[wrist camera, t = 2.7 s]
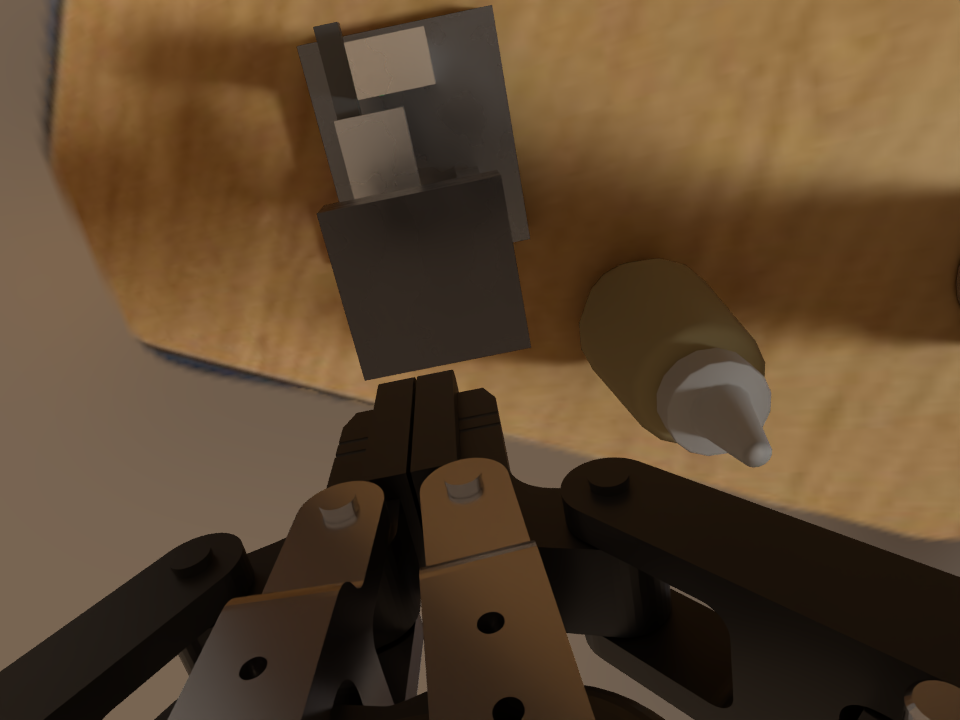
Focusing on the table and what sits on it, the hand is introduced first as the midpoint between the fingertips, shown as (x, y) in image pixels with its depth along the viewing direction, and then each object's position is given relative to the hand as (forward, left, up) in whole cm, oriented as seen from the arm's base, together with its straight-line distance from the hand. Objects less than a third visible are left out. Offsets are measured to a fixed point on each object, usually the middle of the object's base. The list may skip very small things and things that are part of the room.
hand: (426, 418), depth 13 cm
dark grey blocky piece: (+1, 0, -20) cm, 20 cm away
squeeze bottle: (-12, -7, -28) cm, 31 cm away
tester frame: (+3, -1, -27) cm, 28 cm away
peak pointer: (+7, 0, -19) cm, 20 cm away
